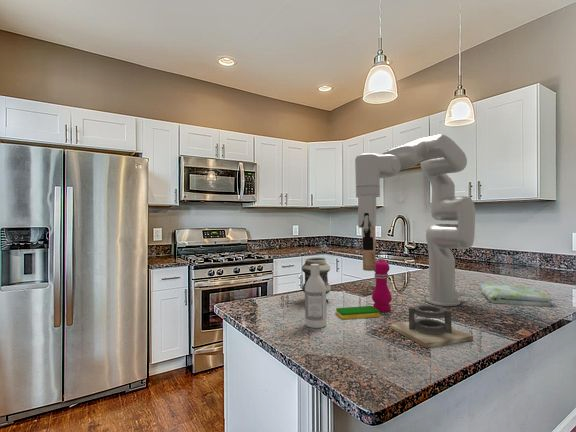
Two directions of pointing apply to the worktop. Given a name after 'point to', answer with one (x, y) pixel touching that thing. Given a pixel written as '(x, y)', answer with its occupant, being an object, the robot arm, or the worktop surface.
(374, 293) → the pepper mill
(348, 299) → the worktop surface
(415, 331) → the collar stand
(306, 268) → the apothecary jar
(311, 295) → the bath foam
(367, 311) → the dish sponge
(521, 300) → the towel
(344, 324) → the worktop surface
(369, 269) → the tan cylinder
